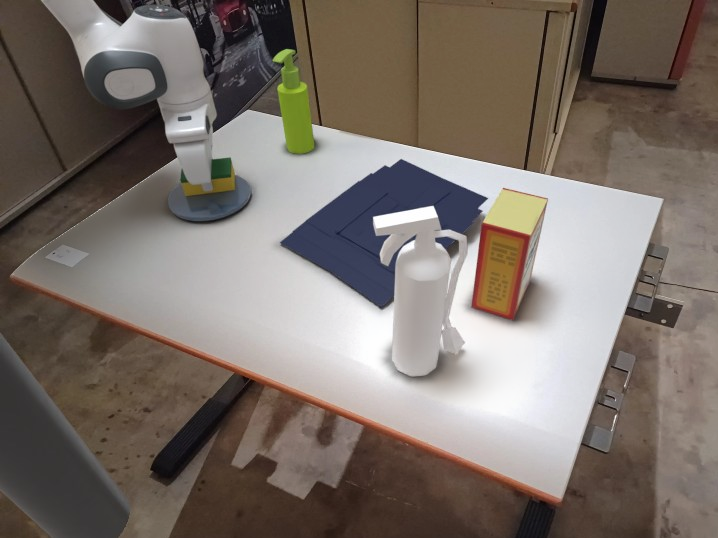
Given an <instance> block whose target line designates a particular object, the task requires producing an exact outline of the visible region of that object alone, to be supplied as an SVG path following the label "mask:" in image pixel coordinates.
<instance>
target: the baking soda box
mask: <svg viewBox="0 0 718 538" xmlns="http://www.w3.org/2000/svg"><path fill="white" fill-rule="evenodd" d="M548 202H549V198H547V197H543V196H539V195H535V194H532V193H527V192H522V191H518V190H515V189H511V188H506V187H502V189H500V192H499V194H498V196H497V197H496V199H495V201H494V203H493V204H492V206H490V209H489V211H488V212H487V214H486V216H485V217H484V220H483V221H482V222H481V225H480V235H479V240H478V250H477V258H476V267H475V274H474V281H473V282H474V283H473V289H472V298H471V299H472V300H471V305H470V308H472V309H475V310H478V311H481V312H485V313H488V314H492V315H495V316H497V317H501V318H504V319H507V320H510V321H514V318H515V317H516V315H517V312H518V310H519V307H520V305H521V303H522V301H523V298H524V296H525V294H526V291H527V289H528V287H529V285H530V283H531V278H532V275H533V269H534V265H535V260H536V257H537V251H538V247H539V243H540V239H541V233H542V228H543V224H544V220H545V215H546V210H547V206H548Z"/></svg>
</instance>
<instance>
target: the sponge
mask: <svg viewBox="0 0 718 538" xmlns="http://www.w3.org/2000/svg"><path fill="white" fill-rule="evenodd" d="M232 161H233V160H232V157H231V156H229V157H222V158H212V165H211V179H212V183H213V190H212V191H204V190H203V188H202V185H201V184H198V185H191V184H190V183H189V182H188V180H187V179H186V177H185V174H184V172H183V170H182V168H180V169H181V170H180V176H179V177H180V178H179V181H180V183H181V184H182V187H183V190H184V193H185V196H191V195H199V194H207V193H215V192H224V191H232V190H235V175H236V172H235V169H234V164H233V162H232Z"/></svg>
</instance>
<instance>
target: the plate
mask: <svg viewBox="0 0 718 538" xmlns="http://www.w3.org/2000/svg"><path fill="white" fill-rule="evenodd" d="M251 194H252V191H251V187H250V184H249V183H248V182H247V180H246V179H245V178H243V177H242V176H240V175H236V174H235V190H232V191H224V192H215V193H207V194H199V195H191V196H185V193H184V190H183V187H182V184H181V182H179V184H177V185H175V187H174V188H173V189H172V190H171V191H170V192H169V194H168V197H167V205H168V208H169V210H170V212H171V213H172V214H173V215H175V216H176V217H177V218H179V219H183V220H187V221H191V222H208V221H215V220H220V219H223V218H226V217H229V216H231V215H233V214H235V213H236V212H238V211H240V210H241V209H242V208H244V206H245V205H246V204H247V203H248V202H249V200H250V198H251Z"/></svg>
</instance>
